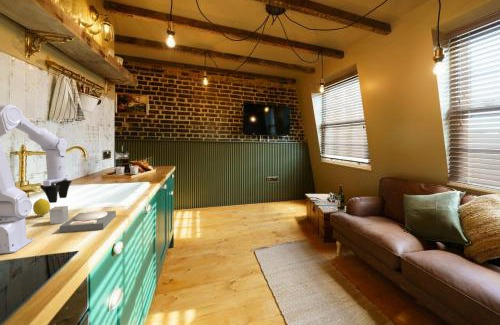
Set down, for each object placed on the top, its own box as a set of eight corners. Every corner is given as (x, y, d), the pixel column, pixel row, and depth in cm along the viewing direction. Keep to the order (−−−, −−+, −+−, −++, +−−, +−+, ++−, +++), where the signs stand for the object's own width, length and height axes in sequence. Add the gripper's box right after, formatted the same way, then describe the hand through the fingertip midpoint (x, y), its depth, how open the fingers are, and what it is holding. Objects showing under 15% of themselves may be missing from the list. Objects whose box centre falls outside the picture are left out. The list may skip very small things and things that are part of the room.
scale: (103, 229, 87) (103, 221, 87) (60, 232, 84) (59, 224, 83) (116, 216, 103) (115, 209, 103) (79, 218, 99) (79, 211, 99)
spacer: (63, 223, 93) (62, 209, 93) (50, 224, 92) (49, 209, 91) (68, 219, 97) (67, 206, 97) (56, 220, 96) (55, 206, 96)
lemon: (40, 218, 98) (39, 200, 97) (30, 217, 99) (28, 199, 98) (53, 214, 104) (52, 197, 103) (44, 213, 105) (42, 196, 104)
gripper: (58, 169, 87) (60, 204, 88) (75, 165, 101) (77, 195, 102) (35, 169, 85) (38, 205, 86) (56, 165, 99) (59, 196, 100)
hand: (58, 200), depth 94 cm, fingers open, 7 cm apart
